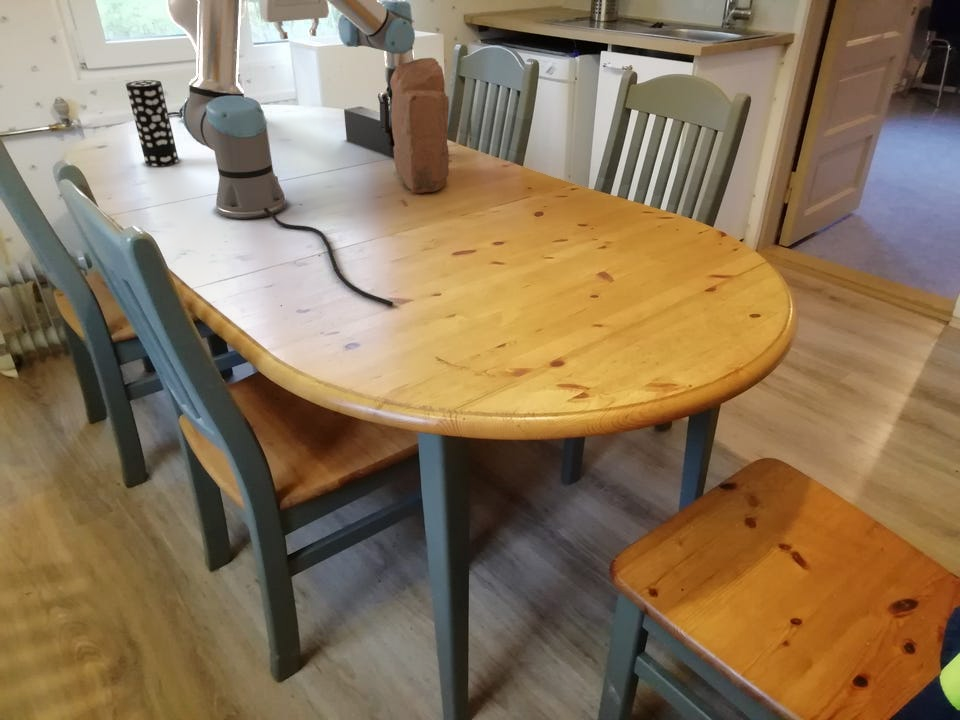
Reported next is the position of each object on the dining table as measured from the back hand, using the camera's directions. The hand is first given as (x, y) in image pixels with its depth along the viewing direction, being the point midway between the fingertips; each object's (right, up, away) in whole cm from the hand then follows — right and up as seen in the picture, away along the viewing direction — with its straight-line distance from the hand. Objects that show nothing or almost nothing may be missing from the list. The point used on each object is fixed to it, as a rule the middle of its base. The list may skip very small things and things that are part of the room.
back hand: (298, 37), depth 198 cm
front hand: (+31, -35, -4) cm, 47 cm away
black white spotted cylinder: (-34, -31, -17) cm, 49 cm away
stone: (+37, -47, -22) cm, 64 cm away
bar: (+24, -31, +2) cm, 39 cm away
